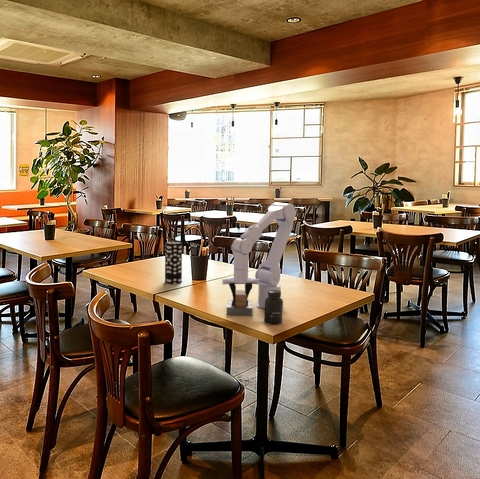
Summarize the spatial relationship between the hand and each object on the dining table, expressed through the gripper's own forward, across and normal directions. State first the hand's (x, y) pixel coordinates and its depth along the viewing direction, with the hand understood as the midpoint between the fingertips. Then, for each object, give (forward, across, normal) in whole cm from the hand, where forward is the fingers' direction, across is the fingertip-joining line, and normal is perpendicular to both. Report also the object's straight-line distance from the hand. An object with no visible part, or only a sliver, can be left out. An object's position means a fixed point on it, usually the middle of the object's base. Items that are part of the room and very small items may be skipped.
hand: (240, 301), depth 188 cm
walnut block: (+2, 0, 0) cm, 2 cm away
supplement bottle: (+4, -11, +15) cm, 19 cm away
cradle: (+4, 0, 0) cm, 4 cm away
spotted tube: (+4, +27, -50) cm, 57 cm away
